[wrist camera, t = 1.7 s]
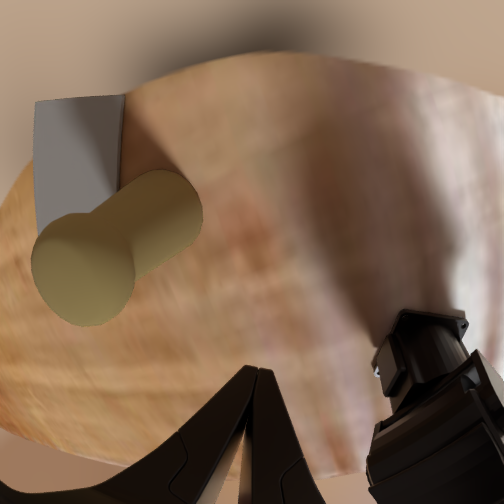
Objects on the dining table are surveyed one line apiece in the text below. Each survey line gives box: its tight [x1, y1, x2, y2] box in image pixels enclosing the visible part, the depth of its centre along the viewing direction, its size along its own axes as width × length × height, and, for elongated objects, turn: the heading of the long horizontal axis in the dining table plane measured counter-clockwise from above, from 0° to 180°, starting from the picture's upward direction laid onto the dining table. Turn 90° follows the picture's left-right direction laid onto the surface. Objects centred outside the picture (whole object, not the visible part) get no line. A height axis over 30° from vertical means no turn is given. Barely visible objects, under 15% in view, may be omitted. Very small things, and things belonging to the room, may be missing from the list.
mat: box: [33, 95, 125, 236], centre depth 22 cm, size 9×16×1 cm, turn 173°
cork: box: [31, 170, 203, 327], centre depth 16 cm, size 6×6×11 cm
